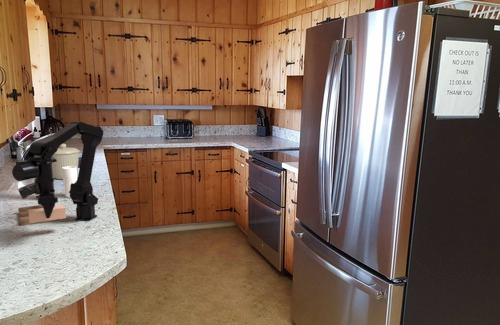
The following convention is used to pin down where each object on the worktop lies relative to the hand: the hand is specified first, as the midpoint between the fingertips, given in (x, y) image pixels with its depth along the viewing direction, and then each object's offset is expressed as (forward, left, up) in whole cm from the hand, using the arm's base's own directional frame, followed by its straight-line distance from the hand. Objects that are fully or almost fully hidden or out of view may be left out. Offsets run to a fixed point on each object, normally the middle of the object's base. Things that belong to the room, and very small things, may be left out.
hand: (47, 216), depth 144 cm
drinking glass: (+22, -48, -7) cm, 53 cm away
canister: (+50, -86, -7) cm, 100 cm away
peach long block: (0, 0, -1) cm, 1 cm away
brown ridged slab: (+16, -17, -6) cm, 24 cm away
